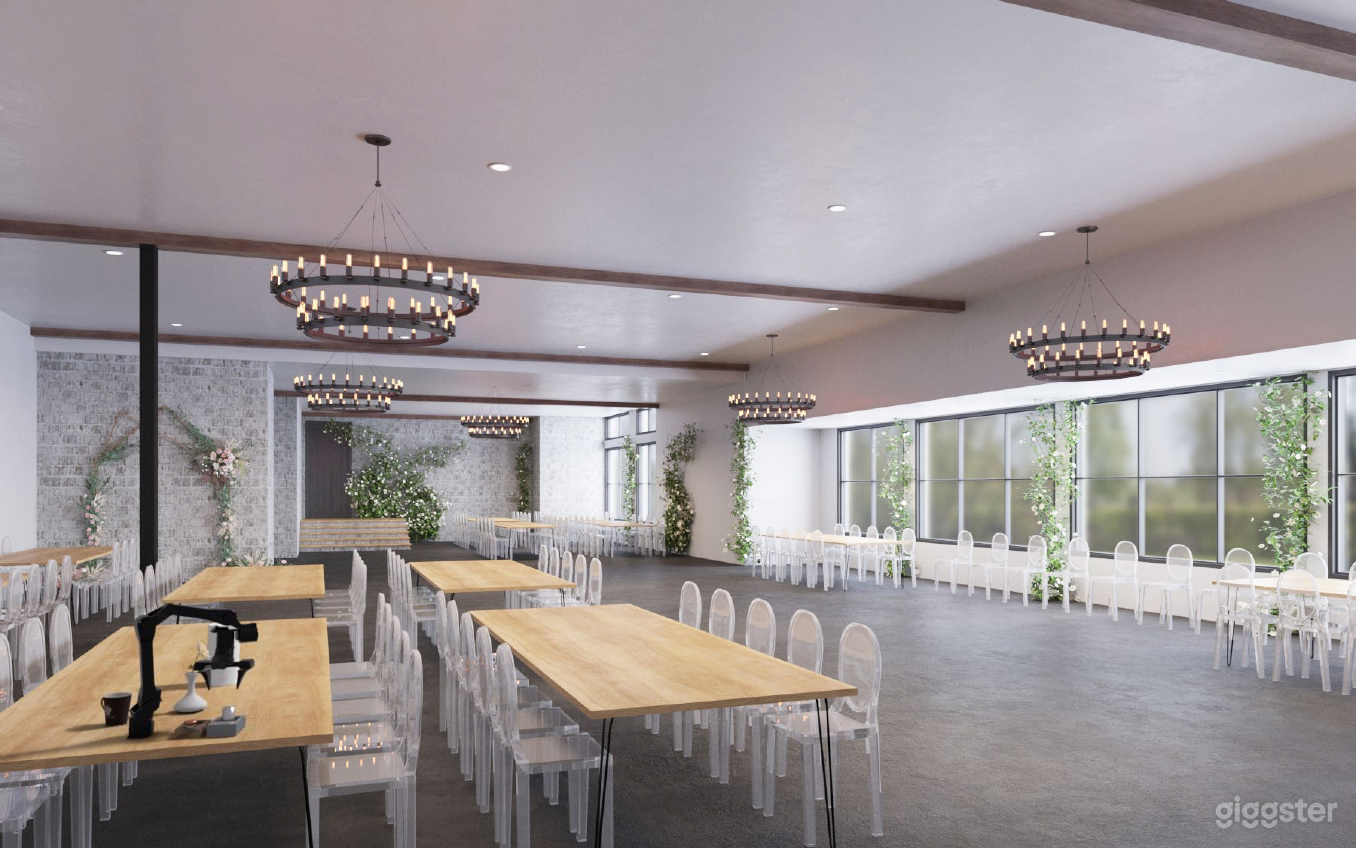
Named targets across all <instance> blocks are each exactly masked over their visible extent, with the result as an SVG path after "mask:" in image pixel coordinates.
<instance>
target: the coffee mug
mask: <svg viewBox="0 0 1356 848" xmlns="http://www.w3.org/2000/svg"><path fill="white" fill-rule="evenodd" d="M132 695H133V693H132V692H126V691H125V692H121V691H120V692H113V693H107V694H105V695H103V697H101V699H100V706H101V708H102V709H103V710H104V711H103V712H104V721H105V726H106V727H119V725H121V726H124V725H123V724H125V725H126V724H128V721H129V719H128V718H129V714H130V712H129V710H130V709H131V707H130V706H131V702H132V697H133V696H132Z"/></svg>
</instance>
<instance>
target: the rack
mask: <svg viewBox="0 0 1356 848" xmlns="http://www.w3.org/2000/svg"><path fill="white" fill-rule="evenodd" d="M246 722H247V715H244V714H243V715H235V721H222V715H219V716H216V718H214V719H212V722H210V723H209V724H208V725H207V732H206V738H220V737H221V738H222V737H223V738H224V737H237V736H238V735H239V734H240V733H241V732H242V731H243V730H244V729H245V728H246V727H247V725H246V724H247V723H246ZM245 726H246V727H245ZM244 727H245V728H244ZM243 728H244V729H243ZM242 729H243V730H242ZM241 730H242V731H241ZM240 731H241V732H240ZM239 732H240V733H239ZM238 733H239V734H238ZM237 734H238V735H237Z"/></svg>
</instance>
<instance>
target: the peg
mask: <svg viewBox="0 0 1356 848" xmlns="http://www.w3.org/2000/svg"><path fill="white" fill-rule="evenodd" d="M221 716H222V721H235V716H236V705H227V706H226V705H225V706H222V708H221Z"/></svg>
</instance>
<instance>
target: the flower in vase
mask: <svg viewBox="0 0 1356 848" xmlns="http://www.w3.org/2000/svg"><path fill="white" fill-rule="evenodd" d="M196 649H197V651H198V654H197V656H196V658H195V661H194V663H196V662H197V660H198V657H199V656H200V657H201V658H202V660H209V659H208V658H210V656H209V654H208V653H209V651H207V645H205V644H203V642H202V641H197V644H196ZM193 666H194V664H189V666H188V668H187V669H188V670H192V671H188V672H185V673H184V676H185V677H186V681H187V692H186V693H185V695H184V696H183V697H181V698H180V699H179V700H178V701H177V702H176V703H175V704H174V705H173V707H172V709H173V711H175V712H179V713H193V712H198V711H201V710H204V709H205V708H207V707H208V703H207V701H206V700H205V699H204V698H202V697H201V696H199V695H198V694H197V693H196V690H195V686H196V680H197V678H198V676H199V675H200V673H198V671H193Z"/></svg>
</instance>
